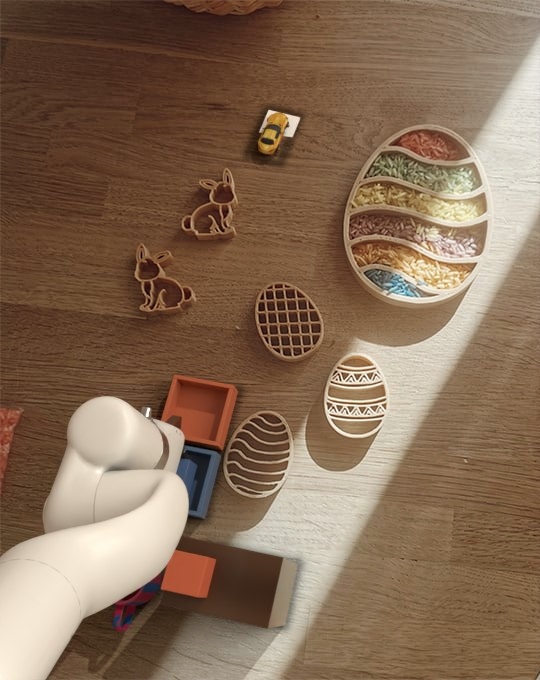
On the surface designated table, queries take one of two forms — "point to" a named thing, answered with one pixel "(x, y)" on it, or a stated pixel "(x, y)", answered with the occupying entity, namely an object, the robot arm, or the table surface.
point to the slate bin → (202, 480)
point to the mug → (134, 603)
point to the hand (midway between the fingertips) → (176, 476)
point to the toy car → (276, 131)
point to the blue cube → (186, 472)
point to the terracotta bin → (201, 410)
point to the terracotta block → (188, 574)
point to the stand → (240, 585)
